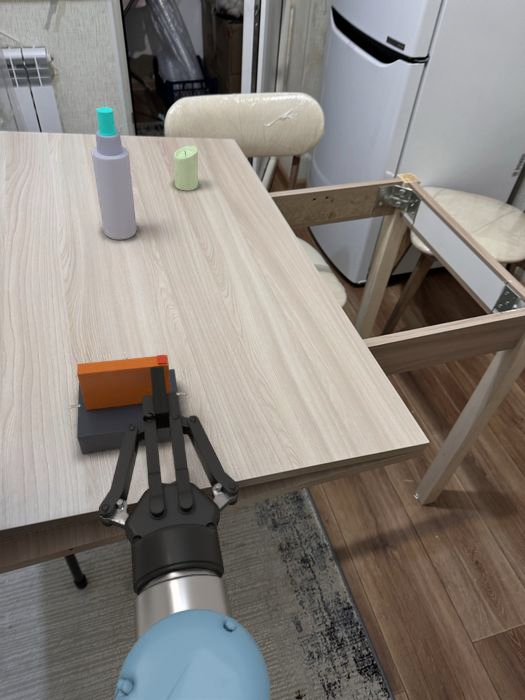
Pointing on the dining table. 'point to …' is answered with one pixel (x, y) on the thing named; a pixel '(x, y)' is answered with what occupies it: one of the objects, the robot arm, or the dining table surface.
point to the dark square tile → (113, 423)
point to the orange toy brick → (119, 381)
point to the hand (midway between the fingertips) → (157, 375)
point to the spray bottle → (113, 179)
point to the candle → (186, 168)
